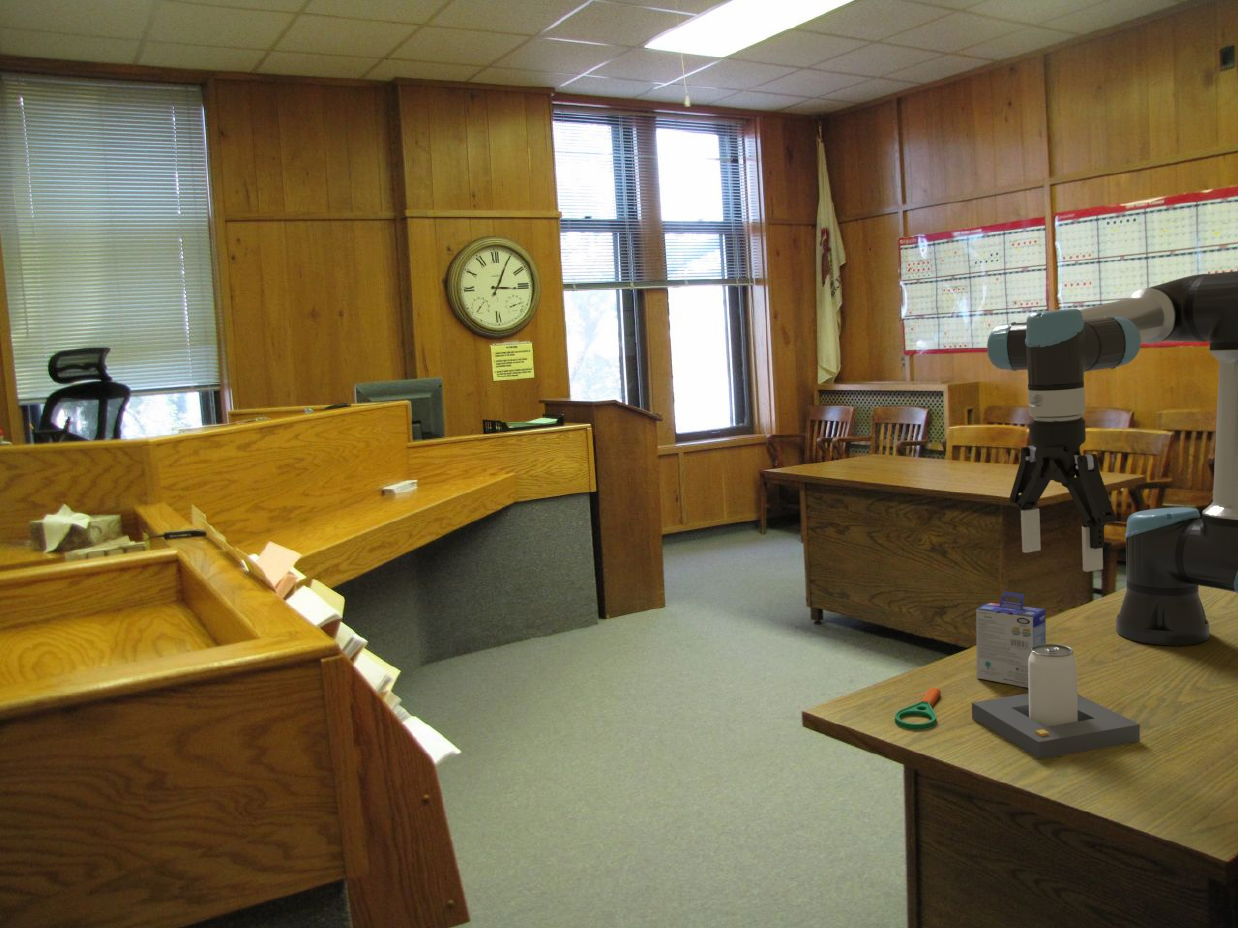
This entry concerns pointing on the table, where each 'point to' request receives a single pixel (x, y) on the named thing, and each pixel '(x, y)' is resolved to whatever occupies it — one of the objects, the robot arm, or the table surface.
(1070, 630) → the table surface
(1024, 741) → the socket block
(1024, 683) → the ink cartridge box
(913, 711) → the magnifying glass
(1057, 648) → the can
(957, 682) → the table surface
